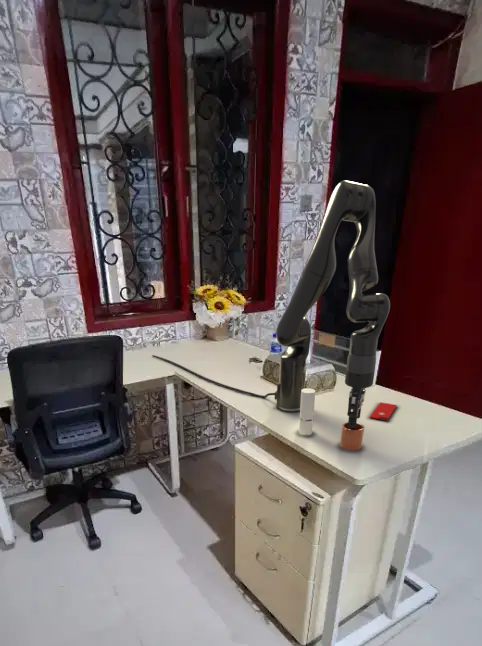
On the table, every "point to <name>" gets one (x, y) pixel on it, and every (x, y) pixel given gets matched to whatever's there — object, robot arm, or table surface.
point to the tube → (306, 411)
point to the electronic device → (383, 411)
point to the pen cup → (352, 437)
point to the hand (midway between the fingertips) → (353, 422)
